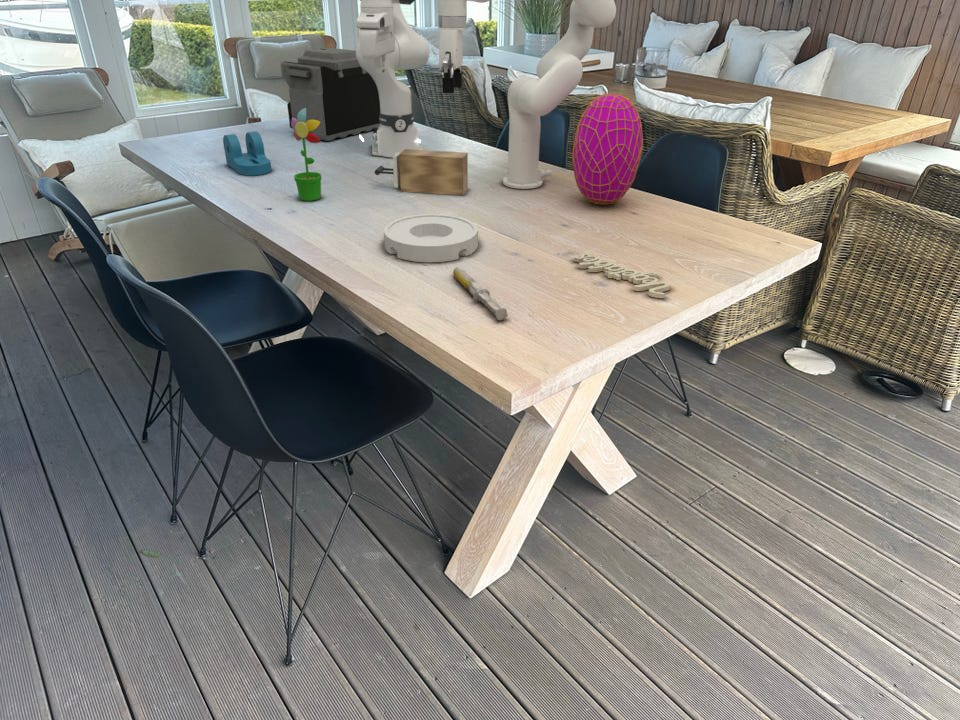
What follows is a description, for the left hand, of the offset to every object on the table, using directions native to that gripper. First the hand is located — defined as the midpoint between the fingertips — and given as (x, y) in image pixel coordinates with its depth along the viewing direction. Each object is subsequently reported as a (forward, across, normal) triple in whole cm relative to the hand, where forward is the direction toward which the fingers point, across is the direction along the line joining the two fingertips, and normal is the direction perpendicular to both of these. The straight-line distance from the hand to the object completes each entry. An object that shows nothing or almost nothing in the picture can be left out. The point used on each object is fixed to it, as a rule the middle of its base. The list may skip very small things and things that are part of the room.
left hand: (380, 72), depth 196 cm
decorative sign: (+33, +54, +73) cm, 97 cm away
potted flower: (+33, +16, -19) cm, 41 cm away
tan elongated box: (+33, 0, +15) cm, 36 cm away
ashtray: (+33, +45, +26) cm, 62 cm away
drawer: (+32, 0, +9) cm, 33 cm away
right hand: (+4, 0, +21) cm, 21 cm away
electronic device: (+33, -70, -43) cm, 88 cm away
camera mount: (+33, -10, -50) cm, 61 cm away
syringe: (+33, +72, +43) cm, 90 cm away
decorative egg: (+33, +1, +66) cm, 74 cm away
